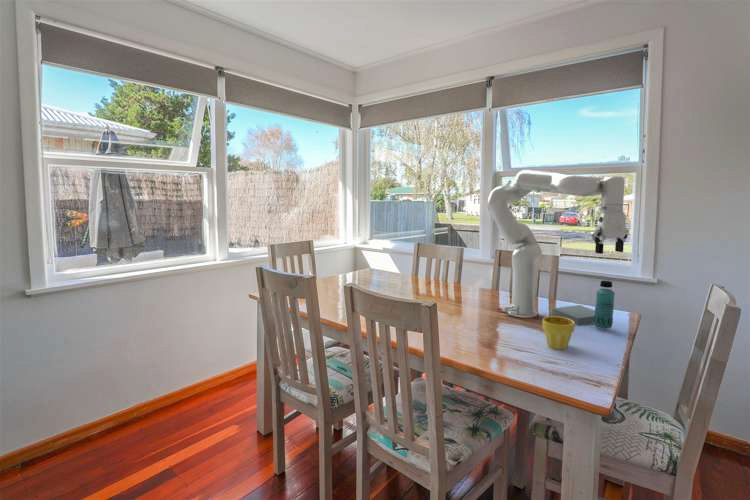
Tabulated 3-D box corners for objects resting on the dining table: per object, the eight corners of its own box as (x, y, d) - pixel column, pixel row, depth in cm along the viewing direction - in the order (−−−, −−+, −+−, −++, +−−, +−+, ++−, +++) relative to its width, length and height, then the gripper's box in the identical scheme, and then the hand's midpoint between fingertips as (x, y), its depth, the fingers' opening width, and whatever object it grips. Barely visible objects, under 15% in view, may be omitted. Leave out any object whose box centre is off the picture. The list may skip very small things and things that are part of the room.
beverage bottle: (590, 327, 163) (593, 279, 160) (605, 326, 164) (608, 279, 160) (600, 333, 157) (603, 283, 154) (616, 332, 157) (619, 282, 154)
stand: (577, 325, 166) (577, 318, 165) (552, 314, 180) (552, 308, 179) (606, 321, 170) (606, 314, 169) (579, 311, 184) (579, 305, 184)
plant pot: (560, 354, 137) (561, 327, 136) (535, 344, 147) (536, 318, 145) (579, 348, 142) (581, 322, 141) (554, 339, 151) (555, 314, 150)
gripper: (601, 210, 148) (598, 255, 151) (637, 208, 153) (635, 252, 155) (585, 209, 156) (583, 252, 158) (621, 207, 160) (618, 249, 163)
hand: (609, 252), depth 157 cm, fingers open, 9 cm apart
